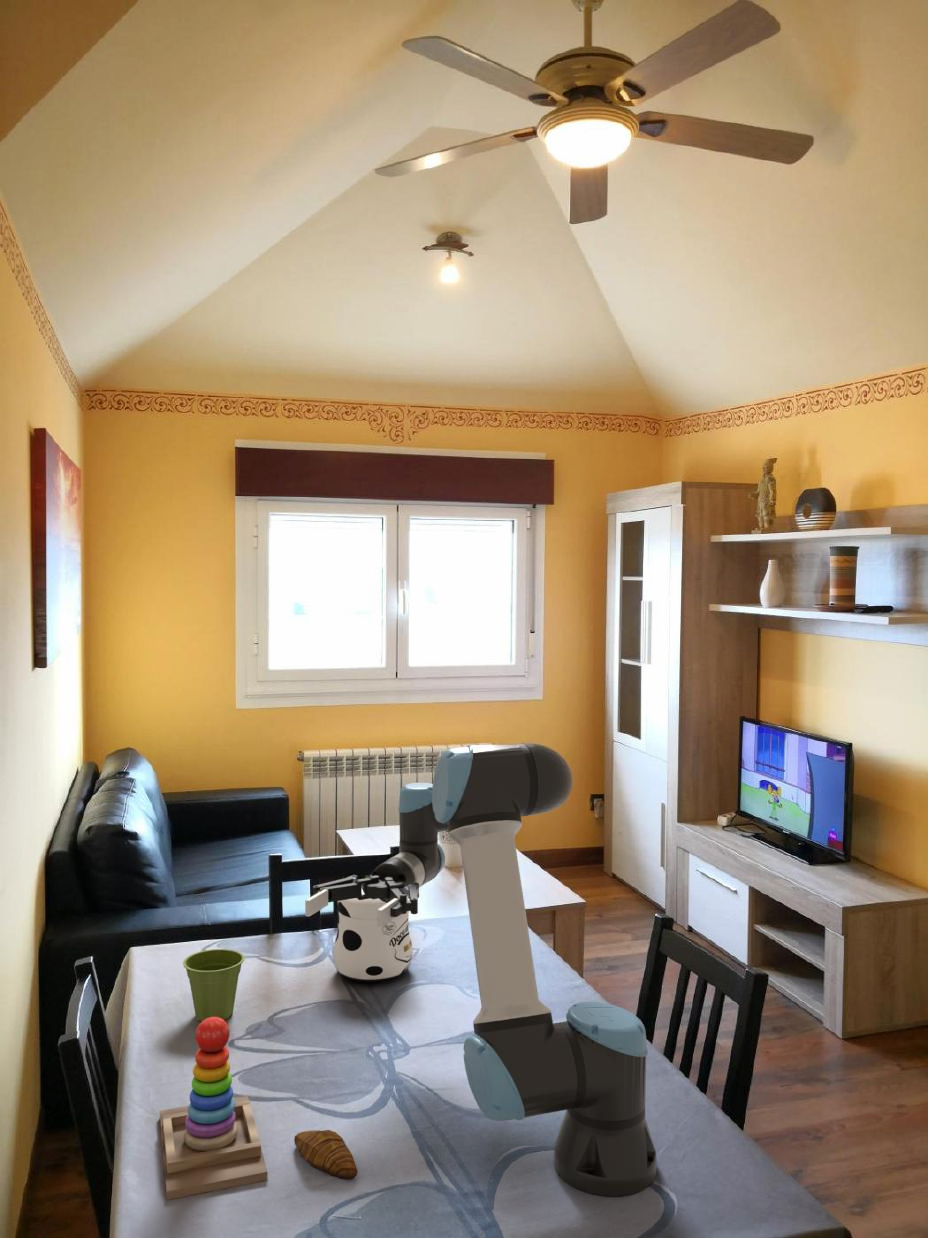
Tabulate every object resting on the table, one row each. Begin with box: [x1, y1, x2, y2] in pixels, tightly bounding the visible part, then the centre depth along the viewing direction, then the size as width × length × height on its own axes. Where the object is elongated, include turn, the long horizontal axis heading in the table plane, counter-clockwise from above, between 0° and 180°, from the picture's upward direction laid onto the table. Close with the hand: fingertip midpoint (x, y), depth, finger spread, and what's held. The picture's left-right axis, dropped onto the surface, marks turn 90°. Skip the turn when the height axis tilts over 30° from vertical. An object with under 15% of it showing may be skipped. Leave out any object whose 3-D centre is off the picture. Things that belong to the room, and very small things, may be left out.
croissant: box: [293, 1129, 358, 1181], centre depth 148 cm, size 14×7×5 cm, turn 47°
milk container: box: [333, 890, 414, 983], centre depth 217 cm, size 17×17×18 cm
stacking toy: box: [184, 1017, 238, 1151], centre depth 151 cm, size 8×8×19 cm
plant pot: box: [182, 948, 245, 1022], centre depth 196 cm, size 12×12×11 cm
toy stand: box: [159, 1095, 269, 1201], centre depth 152 cm, size 22×14×3 cm, turn 20°
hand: (342, 913), depth 165 cm, fingers open, 13 cm apart
